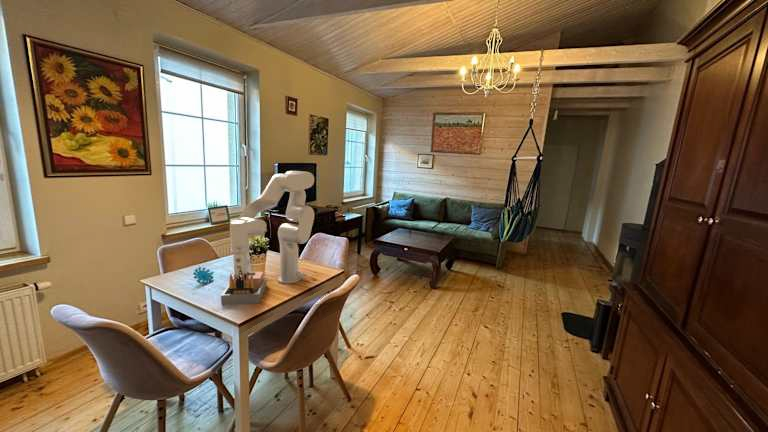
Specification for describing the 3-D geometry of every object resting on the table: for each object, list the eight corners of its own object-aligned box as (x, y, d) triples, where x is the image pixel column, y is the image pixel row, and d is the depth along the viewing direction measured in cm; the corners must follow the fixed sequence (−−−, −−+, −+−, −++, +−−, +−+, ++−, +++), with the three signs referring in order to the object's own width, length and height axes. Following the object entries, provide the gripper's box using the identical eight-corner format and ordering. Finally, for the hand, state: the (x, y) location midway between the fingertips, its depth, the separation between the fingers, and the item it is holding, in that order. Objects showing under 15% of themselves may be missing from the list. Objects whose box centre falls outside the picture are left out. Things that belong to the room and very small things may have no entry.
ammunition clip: (229, 299, 140) (227, 274, 138) (230, 297, 142) (229, 272, 139) (254, 298, 142) (253, 273, 140) (255, 296, 144) (254, 272, 141)
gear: (199, 284, 154) (191, 268, 156) (193, 290, 155) (185, 274, 158) (219, 279, 164) (210, 264, 166) (212, 286, 166) (204, 270, 168)
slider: (260, 289, 151) (259, 276, 149) (231, 290, 148) (230, 277, 147) (263, 282, 159) (263, 269, 158) (236, 283, 157) (235, 270, 155)
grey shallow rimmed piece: (259, 303, 141) (258, 293, 140) (221, 304, 138) (220, 295, 137) (266, 285, 160) (266, 277, 159) (233, 286, 157) (233, 278, 156)
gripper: (245, 254, 130) (247, 291, 134) (253, 242, 147) (255, 275, 150) (225, 254, 129) (228, 292, 132) (236, 242, 145) (238, 276, 149)
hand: (242, 283), depth 141 cm, fingers open, 9 cm apart
